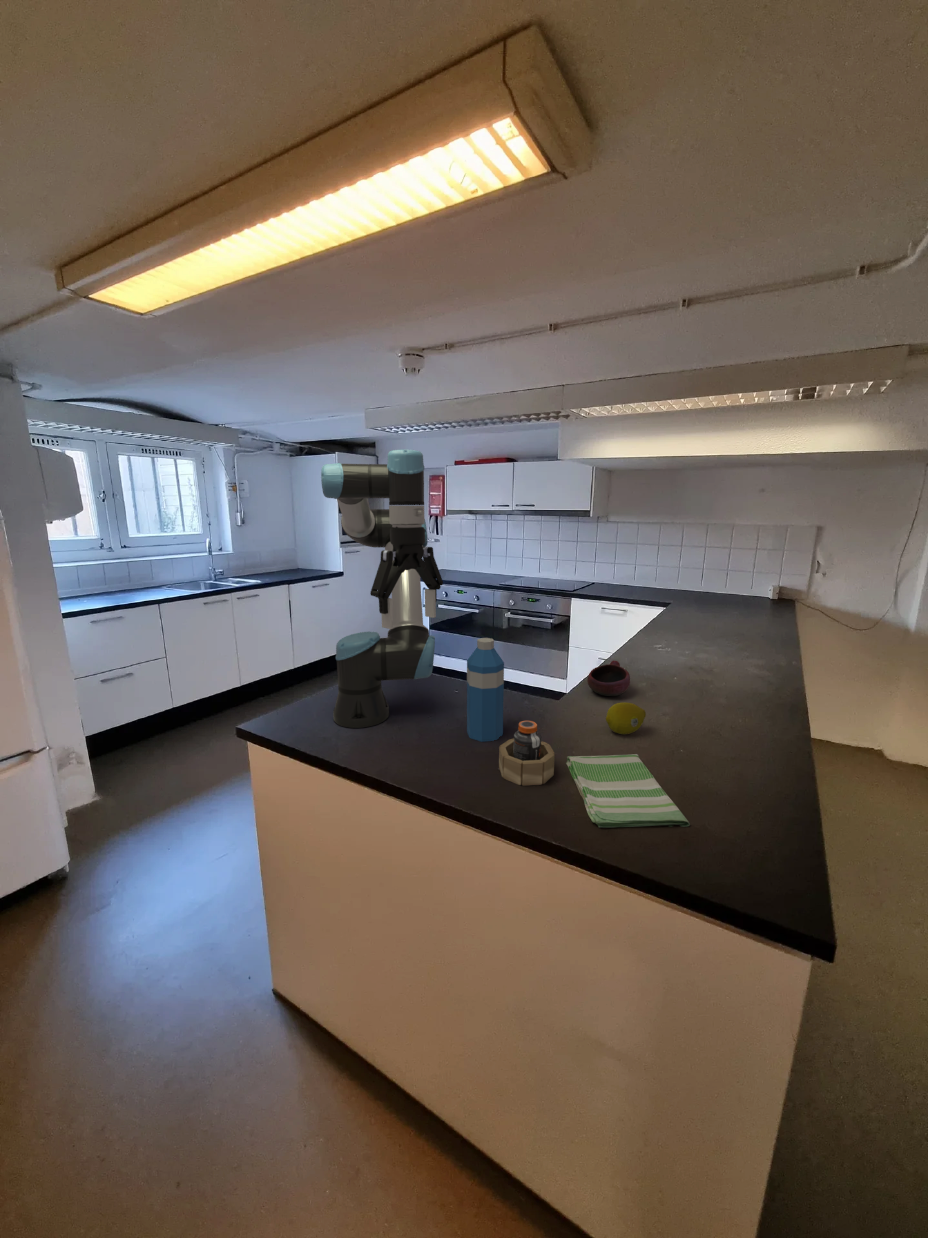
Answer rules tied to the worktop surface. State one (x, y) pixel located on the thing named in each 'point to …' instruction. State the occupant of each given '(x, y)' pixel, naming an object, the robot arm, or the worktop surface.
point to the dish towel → (622, 792)
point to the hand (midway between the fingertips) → (410, 622)
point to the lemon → (625, 717)
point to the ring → (526, 765)
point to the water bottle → (485, 692)
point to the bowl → (609, 679)
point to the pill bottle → (527, 742)
